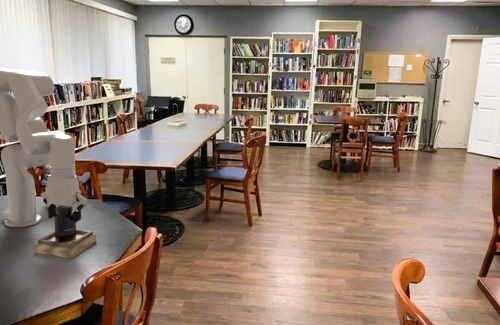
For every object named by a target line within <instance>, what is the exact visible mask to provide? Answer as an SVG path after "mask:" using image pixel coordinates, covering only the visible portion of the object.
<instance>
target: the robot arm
mask: <svg viewBox="0 0 500 325" xmlns="http://www.w3.org/2000/svg"><path fill="white" fill-rule="evenodd" d="M54 91H55V84H54V81H53V79H52V77H51V76H50V75H48V74H47V73H46V72H41V71H36V70H29V69H28V70H27V69H26V70H25V69H13V68H11V69H10V68H0V136H1V137H2V138H3V140H4V141H6V142H19V144H18V143H17V144H11V145H8V146H6V147H4V148H3V149H2V150H1V151H0V152H1V153H0V159H1V162H2V165H3V170H4V174H5V183H6V185H5V186H6V195H7V207H8V208H5V209H4V210H3V211H2V212H1V216H6V219H5V220H4V225H5V226H7V227H10V228H26V227H31V226H33V225H36V224H39V223H40V222H41V221H42V216H41V215H40V214H37V203H36V202H37V199H36V186H35V178H34V176H33V175H32V174H31V173H30V172H29V171H28V169H30V168H35V167H42V166H43V167H44V165H47V164H49V163H50V167H49V168H48V170H50V171H51V175H49V176H48V181H47V190H46V189H45V190H46V192H45V191H43V192H41V193H40V197H41V198H42V201H43V203H44V204H45V207H46V208H47V214H48V219H52V218H54V217H55V215H56V214H57V207H56V205H60V206H67V207H70V206H72V208H73V222H75V223H76V224H77V223H78V222H79V221H81V219H82V210H83V208H85V206H86V204H87V202H88V201H89V200H88V198H86V197H85V196H83V195H82V194H81V192H80V184H79V179H78V176H77V175H76V156H75V155H76V154H75V152H76V151H75V150H76V149H75V148H76V147H75V146H76V145H75V139H74V137H73V136H72V135H67V134H66V133H64V132H63V131H60V130H59V131H58V130H55V131H54V130H53V131H48V128H47V124H46V122H45V121H44V120H43V118H42V116H44V114H46V113H47V111H48V109H49V108H48V104H47V102H46V99H45V98H44V97H48V96H52V95H53V94H54ZM10 93H12V94H10Z"/></svg>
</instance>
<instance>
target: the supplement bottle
mask: <svg viewBox="0 0 500 325" xmlns="http://www.w3.org/2000/svg"><path fill="white" fill-rule="evenodd" d="M73 212H74V209H73V208H72V206H70V207H67V206H60V205H59V206H58V207H56V215H55V216H54V217H53V218H54V231H55V240H56V241H58V242H69V241H72V240H74V239H75V238H76V229H77V222H76V223H75V222H73Z"/></svg>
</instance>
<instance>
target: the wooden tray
mask: <svg viewBox="0 0 500 325" xmlns="http://www.w3.org/2000/svg"><path fill="white" fill-rule="evenodd" d="M96 242H97V233H94V231H91V230H86V229H78V228H76V238H75V239H74V240H72V241H69V242H58V241H56V240H55V230H53V231H52V232H50V233H48V234H46V235H45V236H43V237H40V238H39V239H38V240H37V242H35V243H34V244H33V245H34V253H37V254H42V255H49V256H54V257H55V256H56V257H62V258H67V259H73V258H75V257H76V256H77V255H79V254H80V253H81V252H83V251H85V250H86V249H87V248H89V247H91V246H92V245H93V244H95V243H96Z"/></svg>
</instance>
